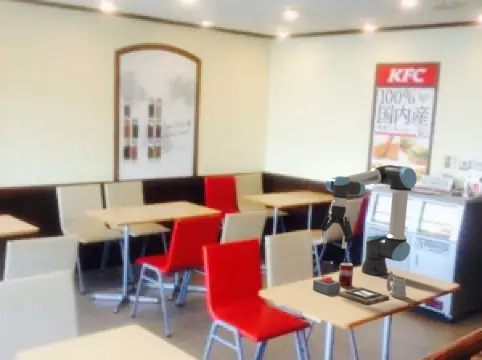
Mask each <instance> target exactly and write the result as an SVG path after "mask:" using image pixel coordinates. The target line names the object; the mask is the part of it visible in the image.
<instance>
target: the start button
mask: <svg viewBox="0 0 482 360" xmlns="http://www.w3.org/2000/svg"><path fill="white" fill-rule="evenodd" d="M321 279H322V282H324V283H327V284H328V283H332V280H333V277H332V276H328V275H327V276H326V275H325V276H322V277H321Z"/></svg>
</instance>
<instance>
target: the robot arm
mask: <svg viewBox="0 0 482 360" xmlns="http://www.w3.org/2000/svg"><path fill="white" fill-rule="evenodd" d="M417 178H418V177H417V174H416V171H415V169H413V168H412V167H409V166H403V165H402V166H401V165H391V164H386V165H381V166H377V167H372V168H371V169H369V170H368V171H363V172H360V173H355V174H351V175H347V176H342V175H341V176H340V175H336V176H335V177H329V178H328V179H327V180H326V182H325V188H326V190H327V191H328V192H331V193H332V201H331V204H332V205H331V206H330V207H331V209H330V212H326V215H325V217H324V219H323V222H322V223H321V224H320V227H319V229H320V230H322V234H321V237H322V240H321V242H322V244H327V243H328V236H329V231H328V230H329V229H330V228H331V227H332V225H334V224H337V225H339V226H340V229H341V231H342V233H343V236H342V245H341V249H347V245H348V243H349V237H350V236H351V237H352V236H353V232H352V231H353V230H352V227H351V223H350V217H349V216H345V214H346V212H347V211H346V210H347V204H348V202H347V201H348V196H356V197H357V196H362V195H364V193H365V192H366V186H368V185H374V186H375V185H387V186H390V187H389V190H390V191H391V193H392V194H391V204H390V205H391V207H390V218H389V225H388V226H389V227H388V230H389V231H388V233H387V234H386V233H372V234H371V233H370V234H368V235H367V236H366V243H365V244H366V245H365V260H364V261H363V264H362V267H361V273H364V274H366V275H370V276H387V275H389V271H388V267H387V262H386V259H387V260H392V261H395V262H403V261H405V260H406V259H407V258H408V257H409V255H410V251H411V246H410V243H409V242H407V241H408V240H407V237H406V236H405V229H406V218H407V211H408V210H407V208H408V197H409V193H411V191H412V189H413V188H414V187H415V186H416V184H417V180H418V179H417Z"/></svg>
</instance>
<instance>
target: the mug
mask: <svg viewBox="0 0 482 360" xmlns="http://www.w3.org/2000/svg"><path fill="white" fill-rule="evenodd" d="M391 281H392V283H391ZM406 288H407V278H406V277H404V276H398V275H396V276H394V273H393V271H392V270H390V271H389V273H388V277H387V281H386V289H387V291H388V292H390V294H391V297H392V298H395V299H400V300H402V299H405V298H406V296H407V292H406V290H407V289H406Z"/></svg>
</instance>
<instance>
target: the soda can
mask: <svg viewBox="0 0 482 360" xmlns="http://www.w3.org/2000/svg"><path fill="white" fill-rule="evenodd" d="M338 269H339V271H338V282H341V285H340V288H341V287H342V288H351V287H352V286H353V277H354V276H353V275H354V264H353V263H351V262H350V263H349V262H340V264H339V268H338Z"/></svg>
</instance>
